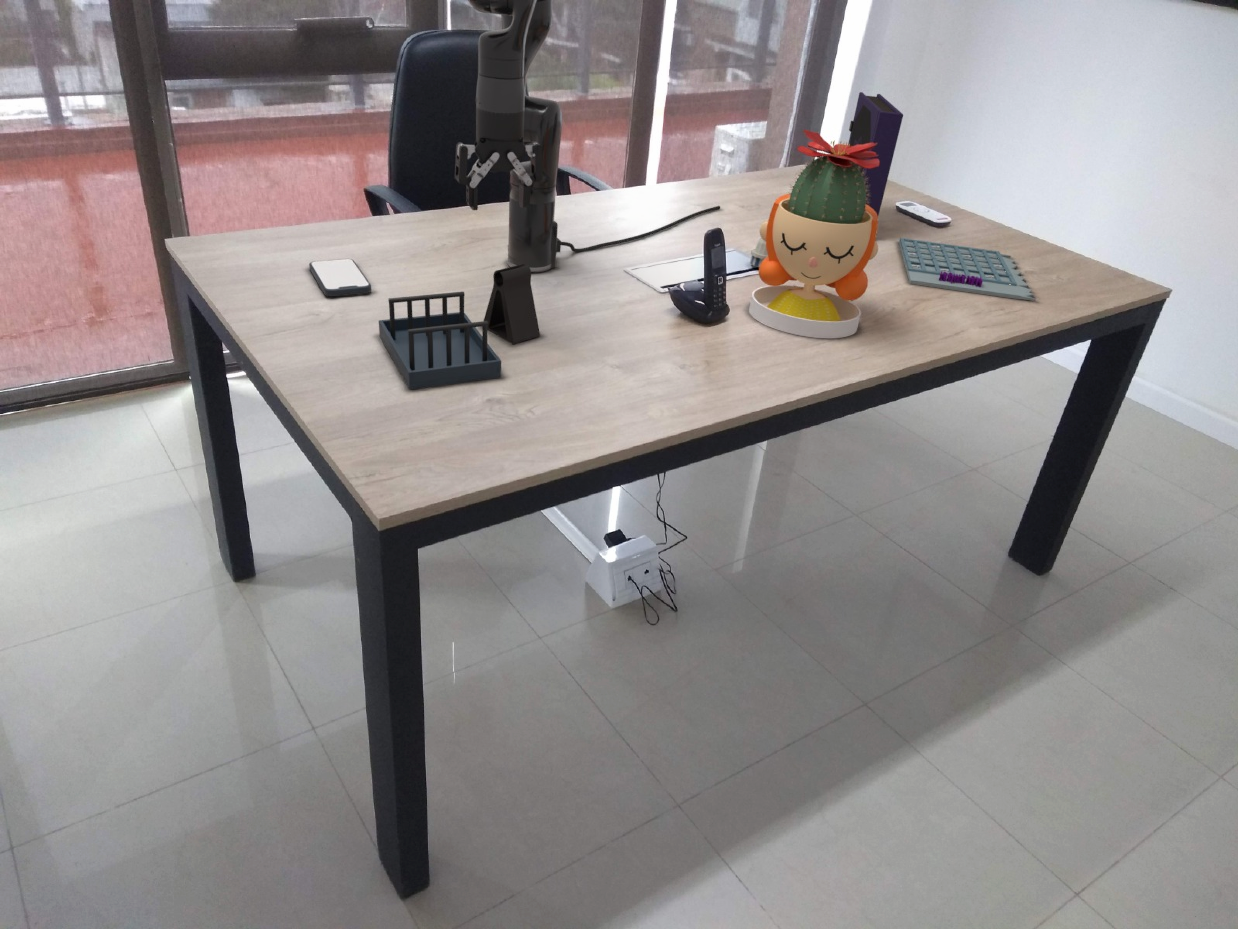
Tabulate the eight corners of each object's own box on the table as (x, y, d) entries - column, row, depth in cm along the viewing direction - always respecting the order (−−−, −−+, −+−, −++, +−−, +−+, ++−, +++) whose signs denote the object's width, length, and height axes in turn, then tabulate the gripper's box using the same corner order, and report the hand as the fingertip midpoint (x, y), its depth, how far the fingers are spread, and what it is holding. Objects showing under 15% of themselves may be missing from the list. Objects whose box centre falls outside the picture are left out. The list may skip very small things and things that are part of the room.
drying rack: (463, 327, 163) (463, 282, 158) (500, 377, 148) (501, 330, 143) (379, 336, 157) (376, 290, 152) (409, 389, 142) (407, 340, 137)
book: (874, 240, 225) (905, 114, 209) (848, 238, 225) (878, 111, 209) (854, 211, 245) (881, 93, 229) (831, 209, 245) (857, 91, 228)
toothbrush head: (841, 239, 211) (767, 238, 196) (832, 267, 214) (759, 268, 199) (825, 232, 214) (751, 231, 199) (816, 259, 217) (743, 260, 202)
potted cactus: (854, 346, 170) (902, 155, 152) (738, 322, 175) (770, 134, 156) (863, 305, 188) (906, 130, 169) (757, 285, 193) (788, 112, 174)
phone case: (308, 269, 179) (325, 298, 167) (307, 261, 178) (324, 290, 167) (353, 265, 183) (373, 294, 171) (352, 257, 182) (373, 286, 170)
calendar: (1011, 258, 223) (1014, 249, 221) (1036, 301, 199) (1039, 291, 198) (898, 243, 226) (901, 233, 224) (909, 283, 202) (912, 273, 200)
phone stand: (482, 326, 164) (482, 262, 157) (508, 319, 167) (510, 256, 161) (513, 344, 158) (515, 279, 152) (540, 336, 162) (542, 272, 156)
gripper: (463, 111, 137) (463, 217, 146) (551, 110, 143) (546, 212, 152) (449, 100, 143) (450, 202, 151) (534, 100, 148) (531, 199, 157)
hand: (498, 207), depth 152 cm, fingers open, 8 cm apart
